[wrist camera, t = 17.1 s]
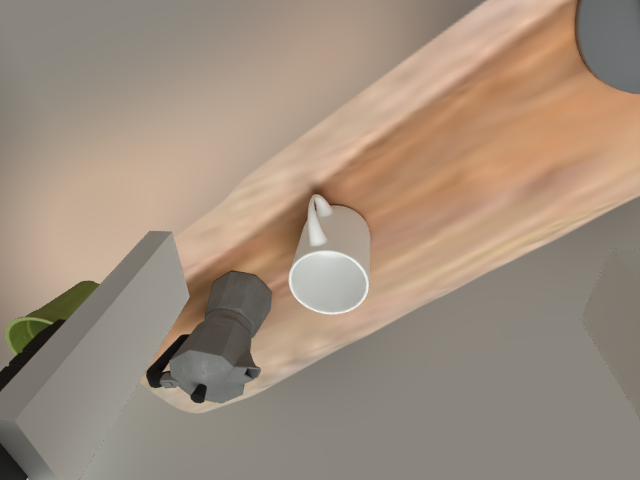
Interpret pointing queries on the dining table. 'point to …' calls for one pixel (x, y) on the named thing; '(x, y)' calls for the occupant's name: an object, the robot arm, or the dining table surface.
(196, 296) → the dining table surface
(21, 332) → the plant pot
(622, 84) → the plate
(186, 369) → the coffeepot
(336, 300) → the mug
